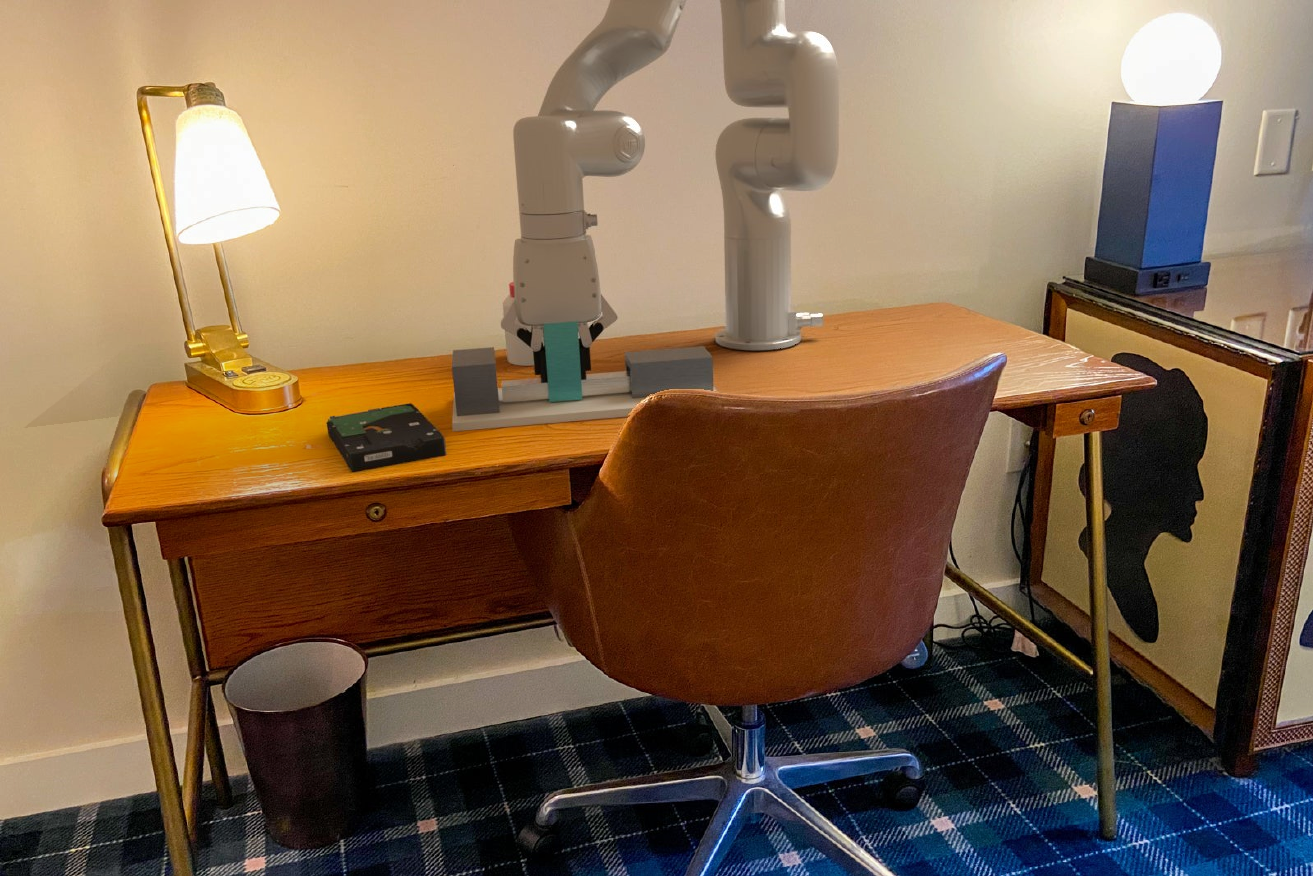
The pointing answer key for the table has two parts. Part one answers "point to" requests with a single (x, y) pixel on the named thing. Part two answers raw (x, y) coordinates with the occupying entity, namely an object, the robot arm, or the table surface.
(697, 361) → the sleeve
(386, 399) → the table surface
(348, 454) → the disk drive
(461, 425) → the base board
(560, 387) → the bolt
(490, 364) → the socket
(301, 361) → the table surface
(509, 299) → the pill bottle
